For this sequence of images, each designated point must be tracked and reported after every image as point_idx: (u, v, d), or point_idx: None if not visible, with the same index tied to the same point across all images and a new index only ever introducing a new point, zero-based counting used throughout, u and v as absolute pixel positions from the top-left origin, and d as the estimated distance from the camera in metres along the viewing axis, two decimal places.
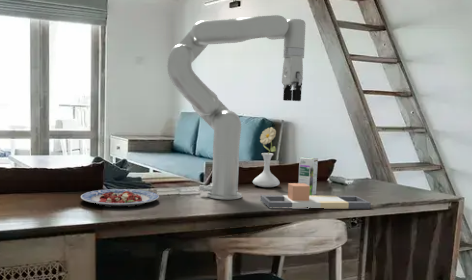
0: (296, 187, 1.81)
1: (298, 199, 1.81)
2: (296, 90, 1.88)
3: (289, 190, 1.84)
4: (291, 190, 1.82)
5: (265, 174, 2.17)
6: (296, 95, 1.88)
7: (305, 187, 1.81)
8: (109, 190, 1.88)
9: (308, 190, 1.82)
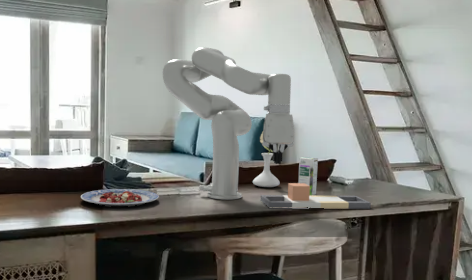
0: (296, 187, 1.81)
1: (298, 199, 1.81)
2: None
3: (289, 190, 1.84)
4: (291, 190, 1.82)
5: (265, 174, 2.17)
6: None
7: (305, 187, 1.81)
8: (109, 190, 1.88)
9: (308, 190, 1.82)
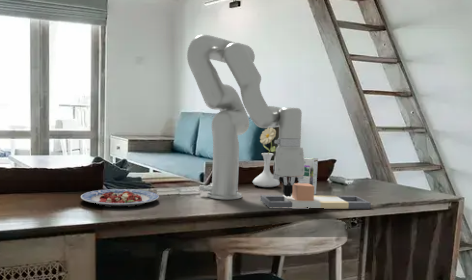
0: (300, 187, 1.81)
1: (302, 199, 1.81)
2: None
3: (294, 190, 1.84)
4: (295, 190, 1.82)
5: (265, 174, 2.17)
6: None
7: (309, 187, 1.81)
8: (109, 190, 1.88)
9: (312, 190, 1.82)
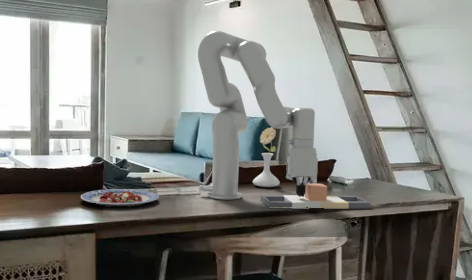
0: (314, 187, 1.82)
1: (315, 199, 1.82)
2: None
3: (307, 190, 1.85)
4: (308, 190, 1.83)
5: (265, 174, 2.17)
6: None
7: (322, 187, 1.82)
8: (109, 190, 1.88)
9: (325, 190, 1.82)
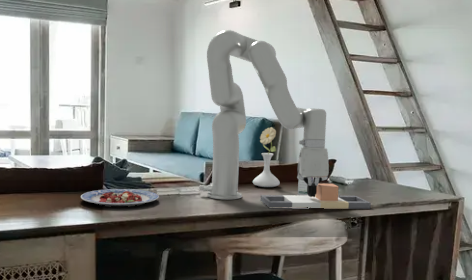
0: (325, 187, 1.82)
1: (327, 199, 1.83)
2: None
3: (318, 190, 1.86)
4: (320, 190, 1.84)
5: (265, 174, 2.17)
6: None
7: (334, 187, 1.83)
8: (109, 190, 1.88)
9: (337, 190, 1.83)
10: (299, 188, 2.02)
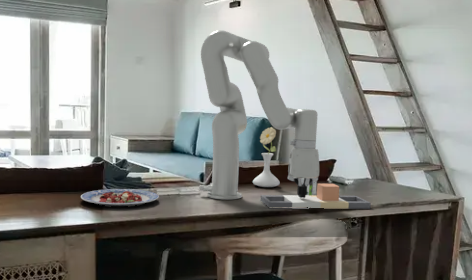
0: (326, 187, 1.82)
1: (328, 199, 1.83)
2: (306, 186, 1.84)
3: (319, 190, 1.86)
4: (321, 190, 1.84)
5: (265, 174, 2.17)
6: None
7: (335, 187, 1.83)
8: (109, 190, 1.88)
9: (338, 190, 1.83)
10: None
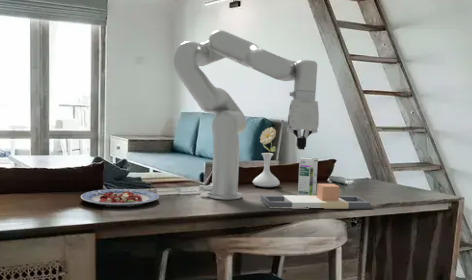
0: (326, 187, 1.82)
1: (328, 199, 1.83)
2: None
3: (319, 190, 1.86)
4: (321, 190, 1.84)
5: (265, 174, 2.17)
6: None
7: (335, 187, 1.83)
8: (109, 190, 1.88)
9: (338, 190, 1.83)
10: (299, 188, 2.02)
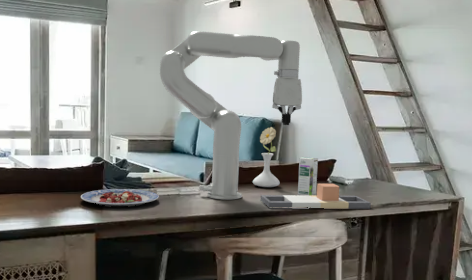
0: (326, 187, 1.82)
1: (328, 199, 1.83)
2: (290, 115, 1.95)
3: (319, 190, 1.86)
4: (321, 190, 1.84)
5: (265, 174, 2.17)
6: None
7: (335, 187, 1.83)
8: (109, 190, 1.88)
9: (338, 190, 1.83)
10: (299, 188, 2.02)
